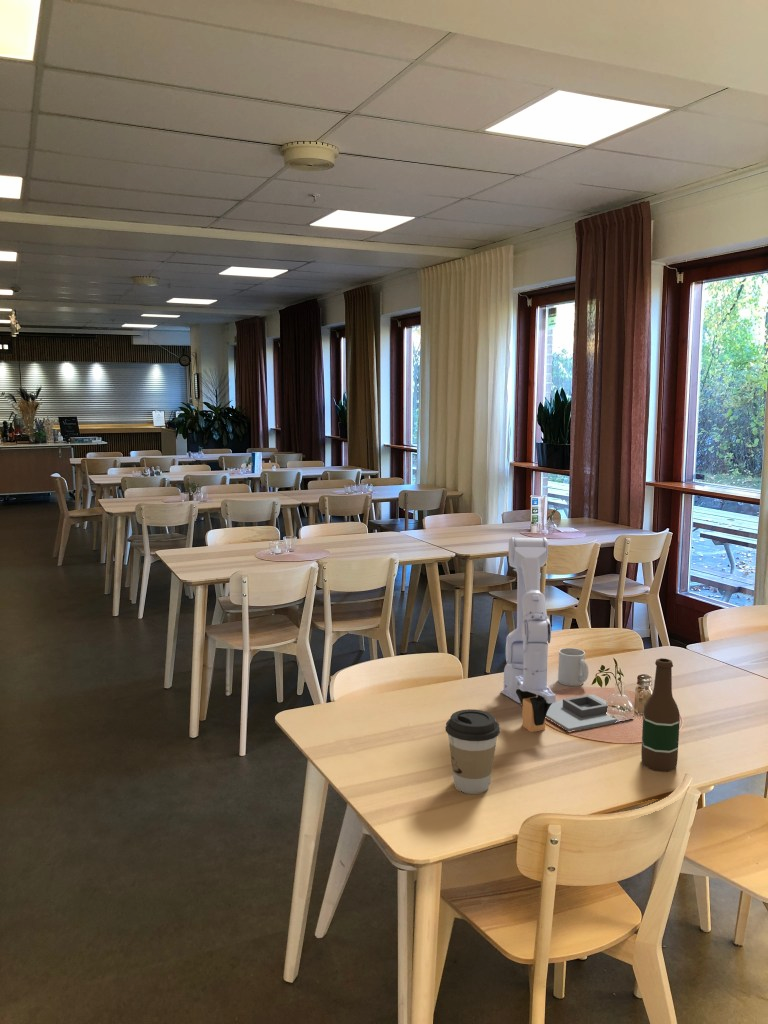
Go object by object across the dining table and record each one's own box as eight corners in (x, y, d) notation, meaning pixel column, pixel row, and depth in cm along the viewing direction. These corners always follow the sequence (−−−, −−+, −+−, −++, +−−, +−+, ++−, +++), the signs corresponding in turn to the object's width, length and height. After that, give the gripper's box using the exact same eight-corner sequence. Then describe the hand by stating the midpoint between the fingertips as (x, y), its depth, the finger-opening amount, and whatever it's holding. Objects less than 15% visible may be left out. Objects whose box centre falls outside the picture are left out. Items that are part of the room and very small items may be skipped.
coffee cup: (435, 779, 173) (435, 712, 171) (481, 769, 177) (482, 704, 175) (460, 803, 163) (461, 732, 160) (509, 792, 167) (511, 723, 165)
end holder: (531, 709, 211) (531, 698, 211) (593, 697, 219) (593, 687, 219) (568, 732, 197) (568, 720, 196) (633, 719, 205) (634, 708, 204)
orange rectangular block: (522, 725, 201) (522, 698, 200) (535, 723, 202) (536, 696, 201) (531, 731, 197) (532, 704, 196) (545, 729, 199) (545, 701, 198)
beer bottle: (672, 775, 175) (678, 668, 171) (636, 766, 179) (641, 662, 175) (680, 761, 181) (686, 658, 178) (645, 753, 185) (650, 652, 182)
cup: (571, 676, 236) (572, 646, 235) (596, 686, 227) (597, 656, 226) (552, 680, 232) (553, 650, 231) (577, 691, 224) (578, 660, 223)
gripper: (505, 661, 202) (503, 713, 204) (538, 679, 189) (537, 735, 191) (529, 657, 205) (527, 708, 207) (563, 675, 192) (561, 730, 194)
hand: (533, 721), depth 199 cm, fingers closed on orange rectangular block, 4 cm apart
